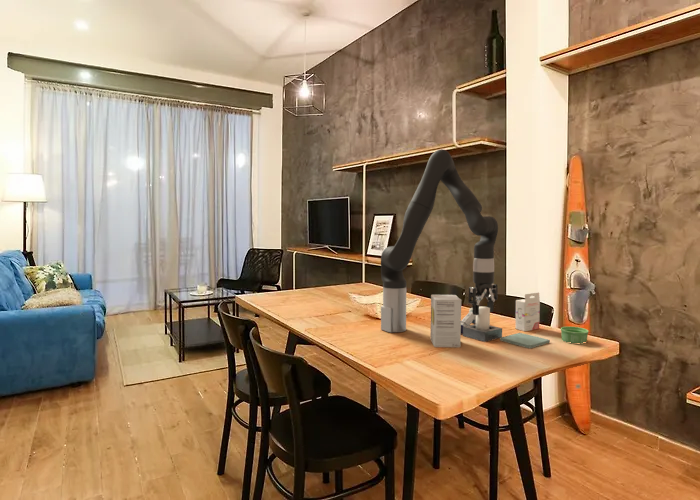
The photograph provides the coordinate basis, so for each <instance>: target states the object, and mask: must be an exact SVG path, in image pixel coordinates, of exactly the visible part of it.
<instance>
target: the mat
mask: <svg viewBox="0 0 700 500" xmlns="http://www.w3.org/2000/svg"><path fill="white" fill-rule="evenodd" d="M499 341H501V342H505V343H509V344H511V345H516V346H520V347H523V348H525V349H526V348H527V349H533V348H536V346H537V347H539V345H540V346H542V345H547V344H549V342H551V341H550V339H547V338H545V337H539V336H536V335H531V334H527V333H522V332H517V333H513V334H509V335H505V336H502V337H501V338H499ZM546 343H547V344H546Z"/></svg>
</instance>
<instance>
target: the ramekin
mask: <svg viewBox="0 0 700 500" xmlns="http://www.w3.org/2000/svg"><path fill="white" fill-rule="evenodd" d="M560 331H561V334H560V335H561V341H563V342H564V341H566V342H565V343H567V342H571V343H570V344H572V343H583V342H586V341H587V342H588V336H589V329H586V328H584V327H579V326H569V325H568V326H567V325H566V326H562V327H561V328H560ZM587 342H586V343H587Z"/></svg>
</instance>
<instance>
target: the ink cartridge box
mask: <svg viewBox="0 0 700 500" xmlns="http://www.w3.org/2000/svg"><path fill="white" fill-rule="evenodd" d="M540 305H541V300H540V293H539V292H534V293H533V292H532V293H525V294H524V299H516V300H515V329H516V330H520V331H523V332H529V331H533V330H538V329H540V311H541V310H540V309H541V306H540Z"/></svg>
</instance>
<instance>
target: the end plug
mask: <svg viewBox="0 0 700 500" xmlns="http://www.w3.org/2000/svg"><path fill="white" fill-rule="evenodd" d="M490 319H491V312H490V308H489V307H487V306H480V305H479V315H476V323H475V324H476V329H479V330H483V331H485V330H490V325H491V321H490Z"/></svg>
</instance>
